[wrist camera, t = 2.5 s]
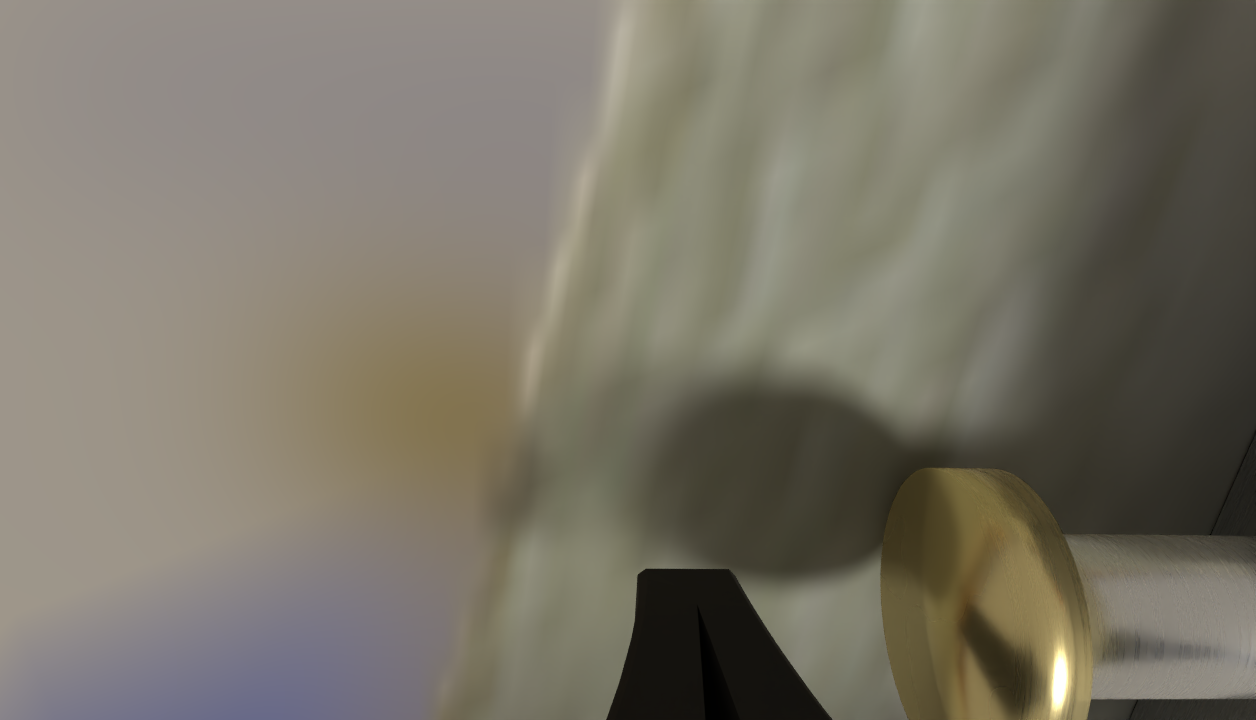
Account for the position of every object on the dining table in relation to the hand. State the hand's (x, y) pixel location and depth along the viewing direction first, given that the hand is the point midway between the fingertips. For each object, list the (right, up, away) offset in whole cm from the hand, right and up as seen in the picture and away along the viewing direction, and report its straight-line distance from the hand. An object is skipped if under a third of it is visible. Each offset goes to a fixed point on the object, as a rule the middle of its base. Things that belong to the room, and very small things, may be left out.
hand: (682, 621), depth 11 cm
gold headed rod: (+9, +1, +3) cm, 9 cm away
